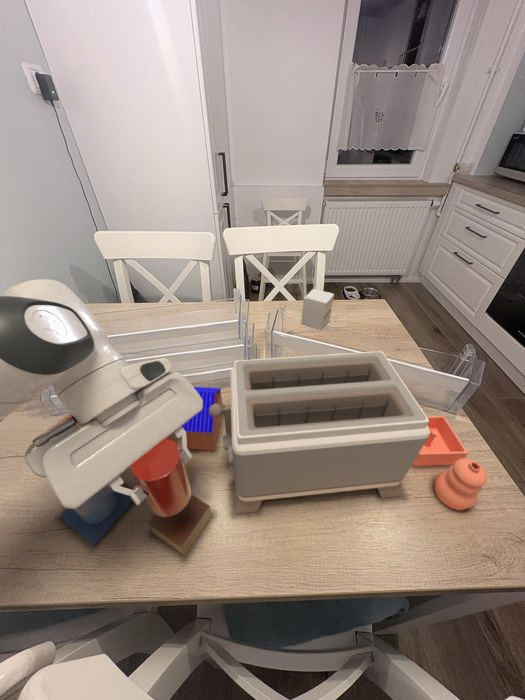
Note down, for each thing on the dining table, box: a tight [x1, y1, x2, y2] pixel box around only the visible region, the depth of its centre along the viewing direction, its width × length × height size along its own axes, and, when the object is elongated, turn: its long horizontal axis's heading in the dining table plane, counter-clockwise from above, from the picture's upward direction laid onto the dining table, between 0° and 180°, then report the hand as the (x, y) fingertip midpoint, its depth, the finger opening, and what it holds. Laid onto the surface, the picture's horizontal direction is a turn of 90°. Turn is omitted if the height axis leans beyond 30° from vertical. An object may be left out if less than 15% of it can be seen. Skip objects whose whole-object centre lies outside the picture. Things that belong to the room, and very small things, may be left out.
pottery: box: [411, 415, 488, 511], centre depth 56 cm, size 18×10×10 cm, turn 2°
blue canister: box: [73, 484, 117, 524], centre depth 49 cm, size 6×6×10 cm
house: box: [166, 386, 223, 451], centre depth 63 cm, size 12×20×12 cm, turn 87°
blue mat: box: [59, 485, 134, 547], centre depth 52 cm, size 9×9×1 cm
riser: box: [147, 494, 213, 557], centre depth 49 cm, size 7×7×4 cm
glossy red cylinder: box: [130, 438, 192, 517], centre depth 40 cm, size 6×6×10 cm
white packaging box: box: [300, 288, 335, 330], centre depth 93 cm, size 7×7×13 cm
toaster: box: [209, 350, 430, 515], centre depth 54 cm, size 19×34×20 cm, turn 96°
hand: (166, 479), depth 40 cm, fingers closed on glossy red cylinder, 6 cm apart
